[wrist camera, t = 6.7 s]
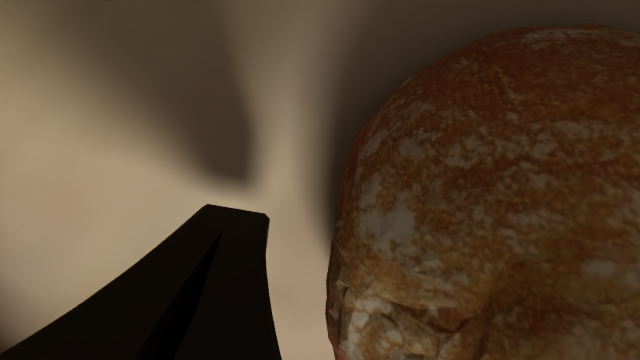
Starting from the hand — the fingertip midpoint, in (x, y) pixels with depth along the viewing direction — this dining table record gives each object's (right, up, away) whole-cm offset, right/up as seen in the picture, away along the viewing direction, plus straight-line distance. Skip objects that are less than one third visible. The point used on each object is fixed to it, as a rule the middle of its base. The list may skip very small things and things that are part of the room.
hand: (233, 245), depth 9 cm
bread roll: (+7, 0, +2) cm, 7 cm away
